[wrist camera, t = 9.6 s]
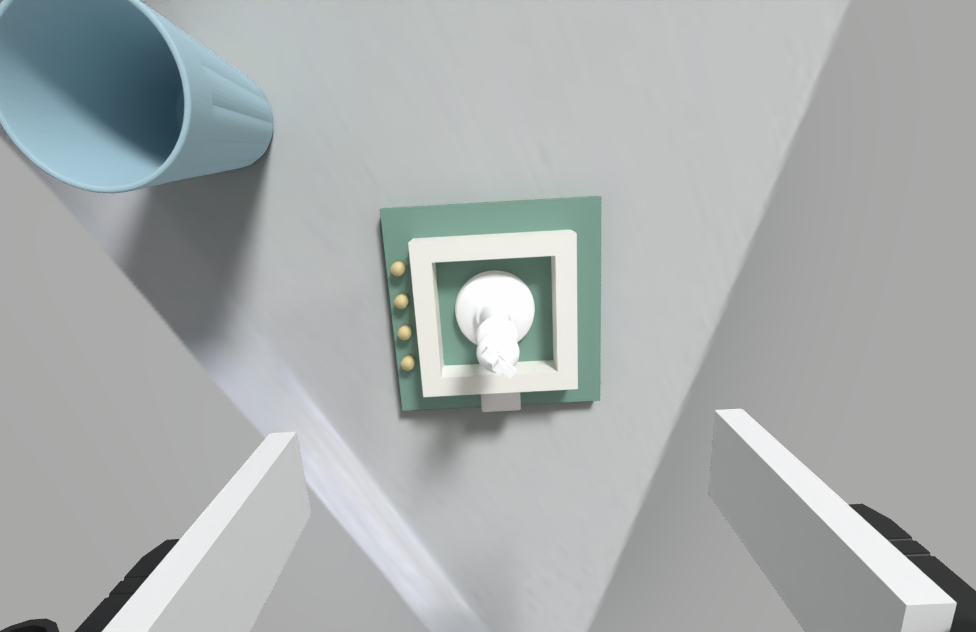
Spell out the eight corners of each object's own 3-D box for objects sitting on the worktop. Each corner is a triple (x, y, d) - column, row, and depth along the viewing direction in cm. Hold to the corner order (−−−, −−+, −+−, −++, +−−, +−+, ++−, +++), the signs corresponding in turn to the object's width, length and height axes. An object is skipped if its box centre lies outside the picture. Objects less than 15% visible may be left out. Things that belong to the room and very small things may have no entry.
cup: (313, 168, 29) (221, 163, 19) (194, 203, 30) (45, 216, 20) (264, 30, 27) (134, -56, 17) (138, 71, 28) (-58, 10, 18)
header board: (383, 208, 30) (372, 211, 27) (597, 196, 30) (609, 197, 27) (404, 404, 34) (397, 425, 31) (596, 393, 33) (607, 414, 30)
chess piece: (498, 361, 32) (505, 442, 22) (438, 313, 31) (417, 375, 21) (550, 305, 31) (581, 362, 21) (490, 253, 30) (493, 289, 20)
